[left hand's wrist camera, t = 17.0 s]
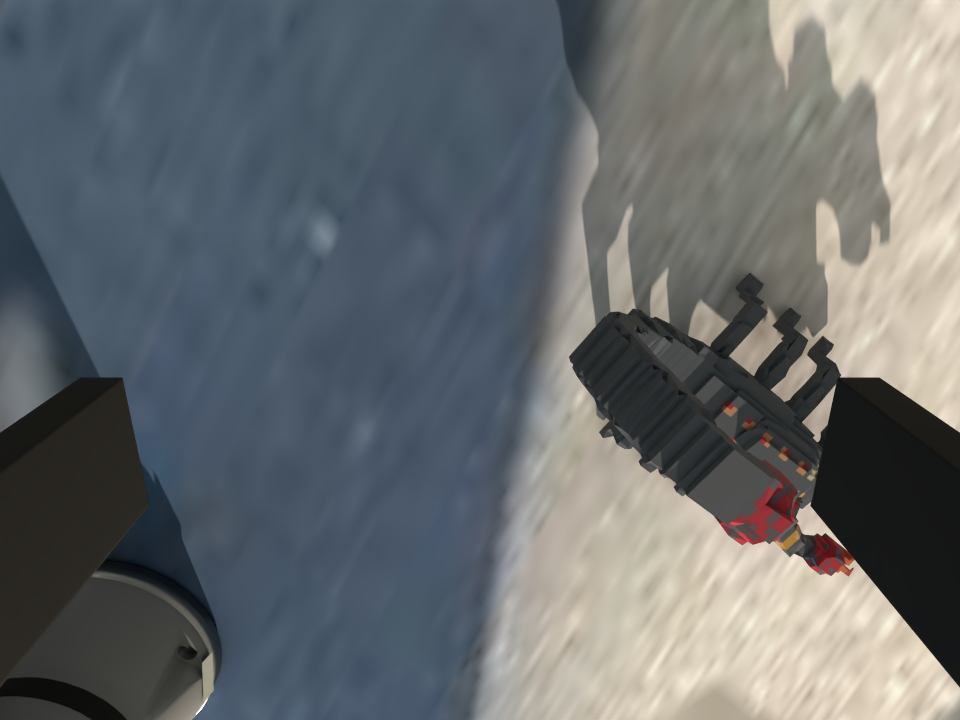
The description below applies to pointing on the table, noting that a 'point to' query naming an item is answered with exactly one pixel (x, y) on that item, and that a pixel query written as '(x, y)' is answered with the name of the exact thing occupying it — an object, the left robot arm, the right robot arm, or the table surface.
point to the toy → (718, 420)
